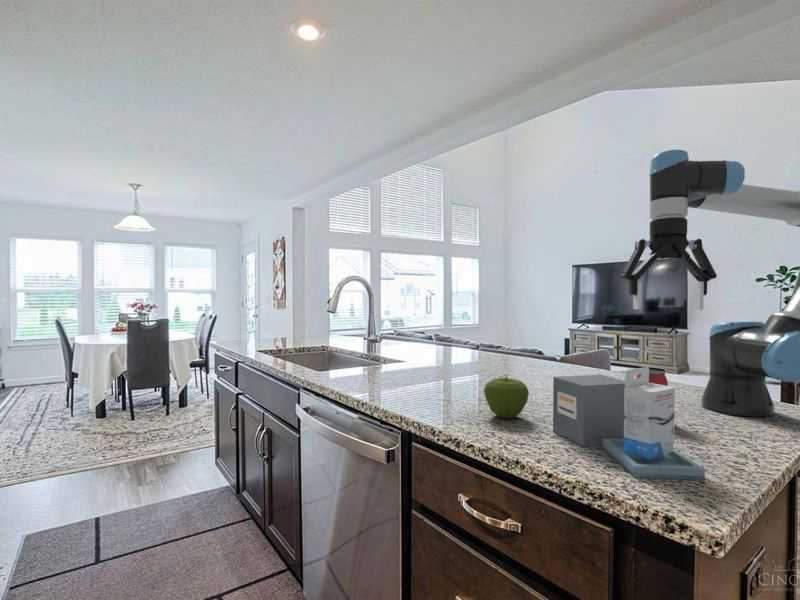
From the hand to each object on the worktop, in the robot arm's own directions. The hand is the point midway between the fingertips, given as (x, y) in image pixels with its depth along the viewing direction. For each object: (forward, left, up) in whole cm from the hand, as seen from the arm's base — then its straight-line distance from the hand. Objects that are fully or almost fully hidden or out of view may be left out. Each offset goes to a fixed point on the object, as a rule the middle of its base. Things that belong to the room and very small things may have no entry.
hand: (667, 309), depth 102 cm
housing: (+21, +12, -27) cm, 36 cm away
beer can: (+3, -1, -27) cm, 27 cm away
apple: (+37, -1, -27) cm, 46 cm away
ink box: (+16, +26, -25) cm, 39 cm away
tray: (+16, +26, -27) cm, 41 cm away
